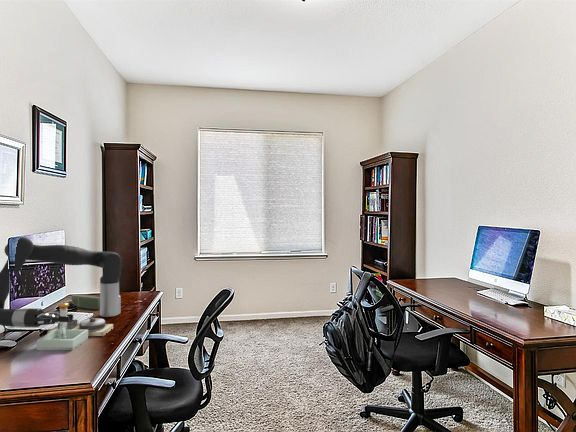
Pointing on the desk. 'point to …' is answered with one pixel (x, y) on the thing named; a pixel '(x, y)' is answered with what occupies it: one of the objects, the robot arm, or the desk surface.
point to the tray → (62, 340)
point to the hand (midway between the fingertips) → (70, 318)
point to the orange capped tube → (63, 324)
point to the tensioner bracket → (88, 326)
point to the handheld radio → (86, 301)
